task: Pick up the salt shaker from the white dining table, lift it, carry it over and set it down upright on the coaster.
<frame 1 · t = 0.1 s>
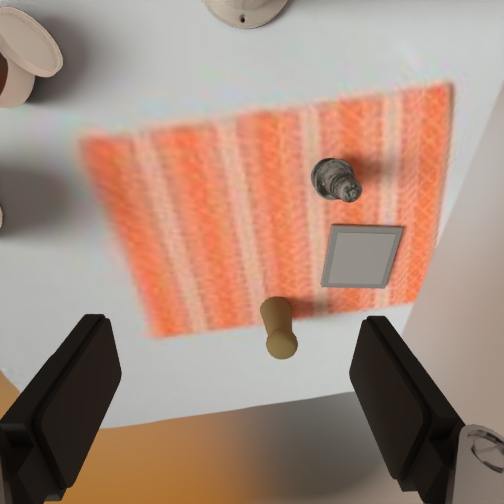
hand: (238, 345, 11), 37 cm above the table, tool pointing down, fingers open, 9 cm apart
coaster: (358, 256, 51), on the table
spread jar: (17, 58, 37), on the table
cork: (275, 308, 56), on the table
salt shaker: (327, 175, 45), on the table
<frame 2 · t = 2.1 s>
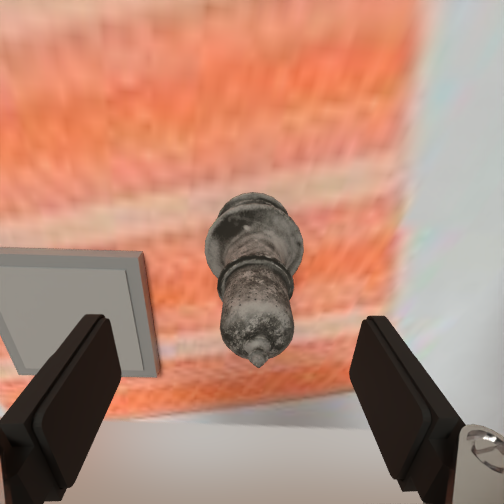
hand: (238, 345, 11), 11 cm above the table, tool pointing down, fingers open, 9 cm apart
coaster: (78, 314, 23), on the table
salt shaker: (253, 228, 20), on the table
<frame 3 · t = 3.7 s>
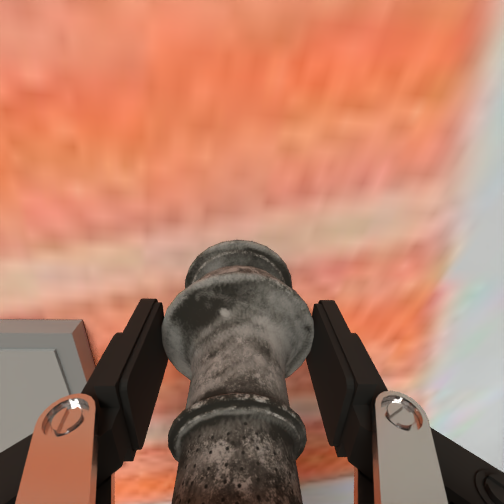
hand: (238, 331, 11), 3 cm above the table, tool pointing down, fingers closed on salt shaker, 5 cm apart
coaster: (0, 399, 17), on the table
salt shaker: (238, 286, 14), on the table, touching gripper
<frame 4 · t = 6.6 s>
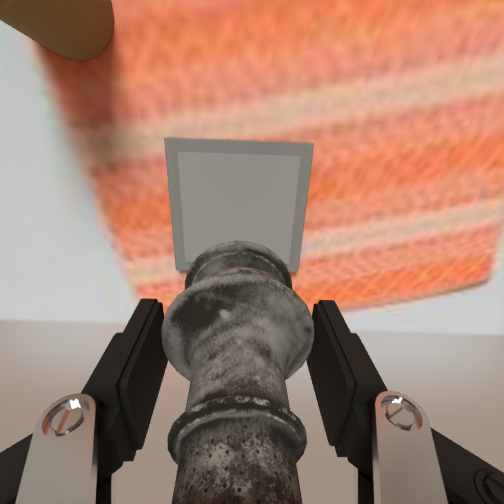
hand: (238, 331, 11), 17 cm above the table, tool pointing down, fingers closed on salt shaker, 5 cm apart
coaster: (238, 209, 26), on the table
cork: (70, 9, 20), on the table
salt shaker: (238, 287, 14), point 13 cm above the table, touching gripper
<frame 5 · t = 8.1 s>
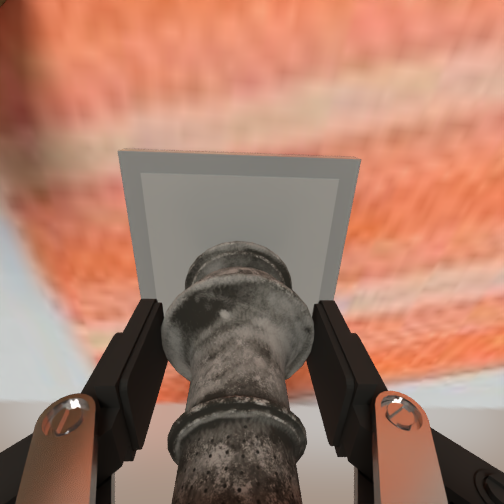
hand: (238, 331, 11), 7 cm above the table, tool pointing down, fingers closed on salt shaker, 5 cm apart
coaster: (239, 255, 17), on the table
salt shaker: (238, 287, 14), point 4 cm above the table, touching gripper
when the fingers open (5 cm above the table, at t = 9.4 s): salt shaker stays where it is, resting on coaster.
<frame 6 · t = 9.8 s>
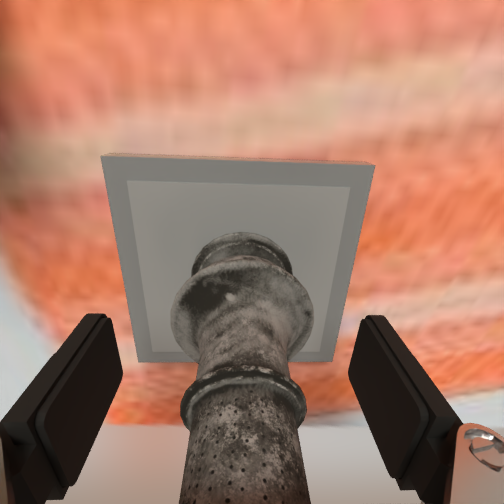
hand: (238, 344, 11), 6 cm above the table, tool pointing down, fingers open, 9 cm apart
coaster: (238, 269, 16), on the table
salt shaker: (242, 276, 15), point 1 cm above the table, touching coaster
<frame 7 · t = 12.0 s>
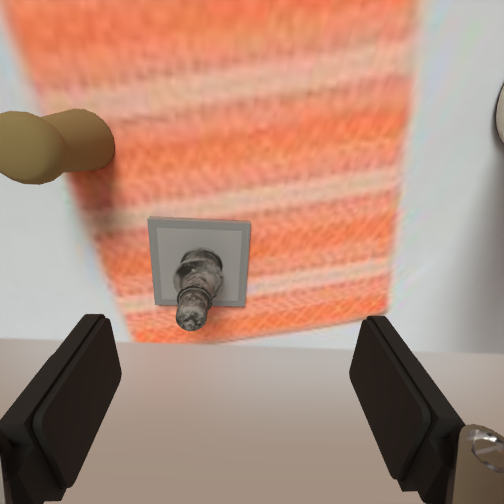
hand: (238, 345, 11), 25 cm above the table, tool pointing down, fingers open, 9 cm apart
coaster: (201, 262, 37), on the table
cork: (85, 140, 30), on the table
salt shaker: (201, 265, 36), point 1 cm above the table, touching coaster
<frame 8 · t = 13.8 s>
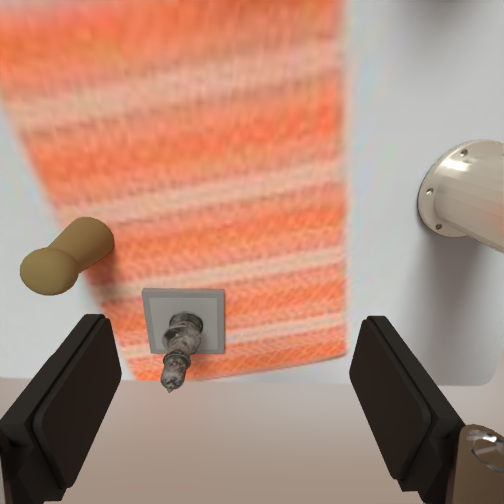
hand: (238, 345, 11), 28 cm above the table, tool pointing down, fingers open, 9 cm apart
coaster: (186, 320, 45), on the table
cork: (91, 237, 39), on the table
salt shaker: (186, 323, 44), point 1 cm above the table, touching coaster
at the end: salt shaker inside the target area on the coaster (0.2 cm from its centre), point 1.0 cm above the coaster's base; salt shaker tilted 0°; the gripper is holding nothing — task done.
